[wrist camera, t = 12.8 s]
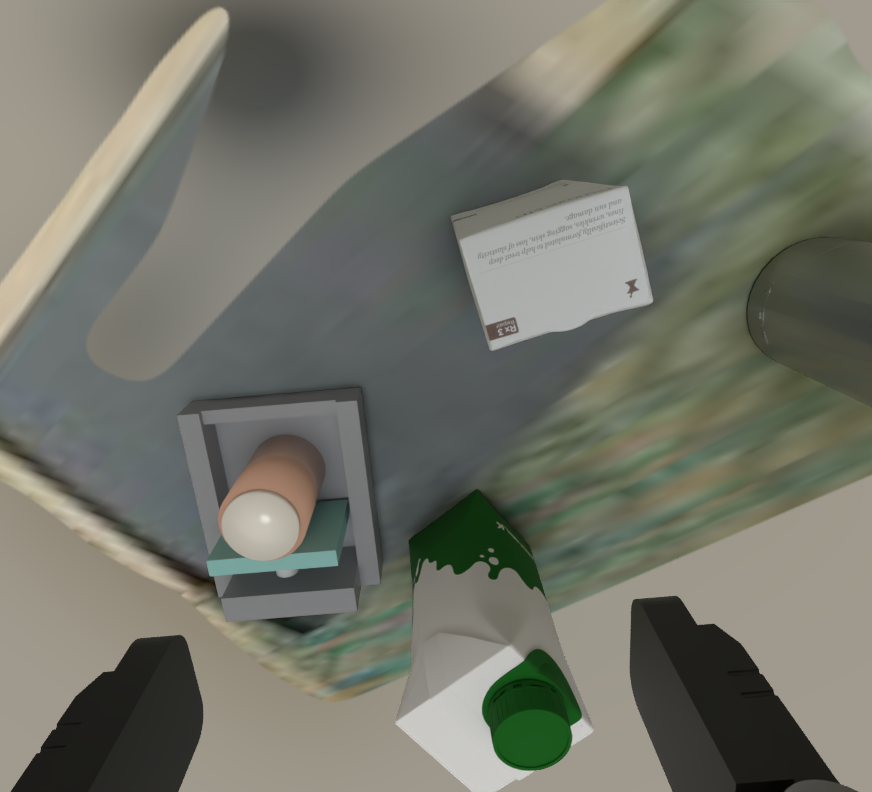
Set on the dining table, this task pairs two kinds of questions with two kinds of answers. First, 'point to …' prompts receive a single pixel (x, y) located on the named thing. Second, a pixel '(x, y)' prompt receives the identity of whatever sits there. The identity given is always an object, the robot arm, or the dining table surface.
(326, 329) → the dining table surface
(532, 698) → the milk carton
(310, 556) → the plate
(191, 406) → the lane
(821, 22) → the dining table surface
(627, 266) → the skincare box
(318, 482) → the jar
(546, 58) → the dining table surface
